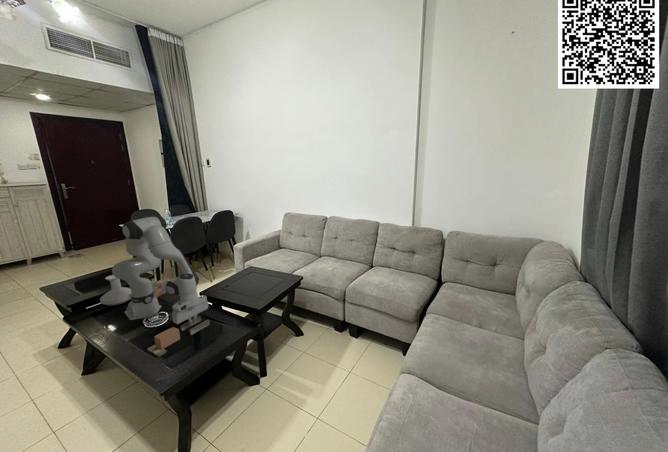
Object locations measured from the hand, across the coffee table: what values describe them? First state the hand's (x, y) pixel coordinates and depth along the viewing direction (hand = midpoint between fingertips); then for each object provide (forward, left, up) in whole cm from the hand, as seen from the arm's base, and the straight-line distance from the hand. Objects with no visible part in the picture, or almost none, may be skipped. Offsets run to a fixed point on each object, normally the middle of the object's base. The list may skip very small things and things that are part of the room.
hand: (193, 322), depth 155 cm
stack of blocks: (-67, +13, -5) cm, 69 cm away
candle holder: (-84, -3, -5) cm, 84 cm away
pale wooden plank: (0, -7, -5) cm, 8 cm away
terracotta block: (0, -15, -4) cm, 15 cm away
